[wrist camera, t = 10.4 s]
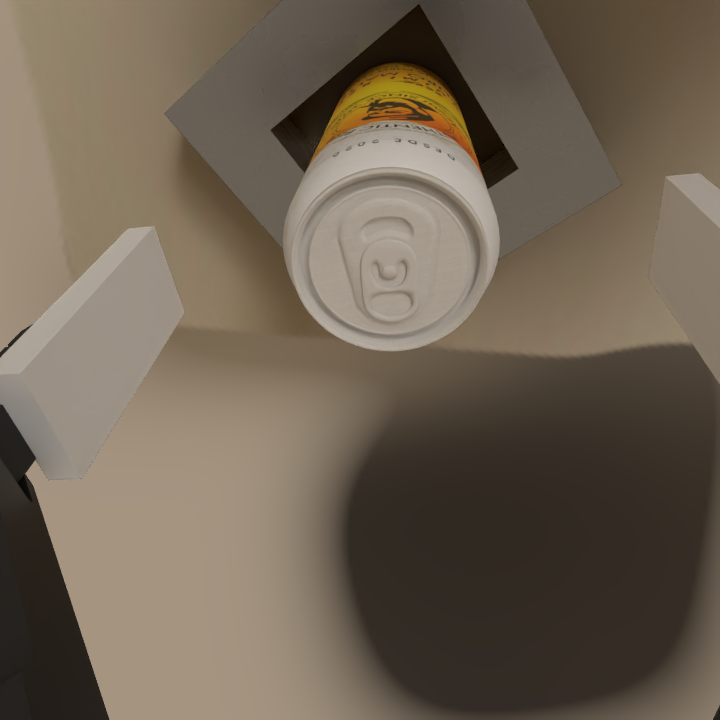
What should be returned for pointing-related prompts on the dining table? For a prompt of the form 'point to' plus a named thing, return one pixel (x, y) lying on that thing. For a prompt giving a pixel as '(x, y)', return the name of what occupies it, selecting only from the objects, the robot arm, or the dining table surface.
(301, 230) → the beer can
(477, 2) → the collar
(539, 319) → the dining table surface
